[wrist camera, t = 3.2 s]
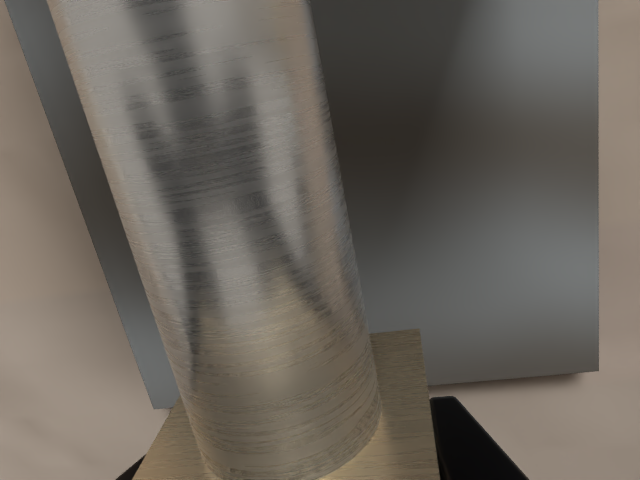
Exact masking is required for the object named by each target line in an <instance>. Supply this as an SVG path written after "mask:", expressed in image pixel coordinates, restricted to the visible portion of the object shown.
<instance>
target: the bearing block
mask: <svg viewBox="0 0 640 480" xmlns="http://www.w3.org/2000/svg"><path fill="white" fill-rule="evenodd" d="M4 1H5V4H6V6H7V9H8V12H9V14H10V17H11V20H12V23H13V25H14V28H15V31H16V34H17V36H18V39H19V42H20V45H21V47H22V50H23V53H24V56H25V58H26V61H27V64H28V66H29V69H30V72H31V75H32V77H33V80H34V83H35V86H36V88H37V91H38V94H39V97H40V99H41V102H42V105H43V107H44V110H45V113H46V116H47V118H48V121H49V124H50V127H51V129H52V132H53V135H54V138H55V140H56V143H57V146H58V149H59V151H60V154H61V157H62V159H63V162H64V165H65V168H66V170H67V173H68V176H69V179H70V181H71V184H72V187H73V190H74V192H75V195H76V198H77V200H78V203H79V206H80V209H81V211H82V214H83V217H84V220H85V222H86V225H87V228H88V231H89V233H90V236H91V239H92V242H93V244H94V247H95V250H96V252H97V255H98V258H99V261H100V263H101V266H102V269H103V272H104V274H105V277H106V280H107V283H108V285H109V288H110V291H111V293H112V296H113V299H114V302H115V304H116V307H117V310H118V313H119V315H120V318H121V321H122V324H123V326H124V329H125V332H126V335H127V337H128V340H129V343H130V345H131V348H132V351H133V354H134V356H135V359H136V362H137V365H138V367H139V370H140V373H141V376H142V378H143V381H144V384H145V386H146V389H147V392H148V395H149V397H150V400H151V403H152V406H153V408H154V409H163V408H173V407H174V405H175V403H176V401H177V400H178V398H179V396H180V392H179V389H178V386H177V383H176V380H175V377H174V374H173V371H172V368H171V365H170V362H169V359H168V357H167V354H166V351H165V348H164V345H163V342H162V339H161V336H160V333H159V330H158V327H157V324H156V321H155V318H154V315H153V312H152V309H151V307H150V304H149V301H148V298H147V295H146V292H145V289H144V286H143V283H142V280H141V277H140V274H139V271H138V268H137V265H136V262H135V259H134V256H133V254H132V251H131V248H130V245H129V242H128V239H127V236H126V233H125V230H124V227H123V224H122V221H121V218H120V215H119V212H118V209H117V206H116V203H115V201H114V198H113V195H112V192H111V189H110V186H109V183H108V180H107V177H106V174H105V171H104V168H103V165H102V162H101V159H100V156H99V153H98V151H97V148H96V145H95V142H94V139H93V136H92V133H91V130H90V127H89V124H88V121H87V118H86V115H85V112H84V109H83V106H82V103H81V100H80V98H79V95H78V92H77V89H76V86H75V83H74V80H73V77H72V74H71V71H70V68H69V65H68V62H67V59H66V56H65V53H64V50H63V47H62V45H61V42H60V39H59V36H58V33H57V30H56V27H55V24H54V21H53V18H52V15H51V12H50V9H49V6H48V3H47V0H4ZM310 4H311V10H312V16H313V21H314V27H315V32H316V38H317V44H318V49H319V55H320V60H321V66H322V72H323V77H324V83H325V89H326V94H327V100H328V105H329V111H330V117H331V122H332V128H333V133H334V139H335V145H336V150H337V156H338V161H339V167H340V173H341V178H342V184H343V190H344V195H345V201H346V206H347V212H348V218H349V223H350V229H351V234H352V240H353V246H354V251H355V257H356V262H357V268H358V274H359V279H360V285H361V291H362V296H363V302H364V307H365V313H366V319H367V324H368V330H369V334H372V333H381V332H391V331H400V330H410V329H420V336H421V343H422V350H423V358H424V365H425V372H426V379H427V386H431V385H442V384H454V383H466V382H477V381H489V380H501V379H512V378H524V377H536V376H547V375H559V374H571V373H582V372H594V371H599V232H598V0H310Z"/></svg>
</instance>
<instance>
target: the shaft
mask: <svg viewBox="0 0 640 480" xmlns="http://www.w3.org/2000/svg"><path fill="white" fill-rule="evenodd" d="M47 3H48V6H49V9H50V12H51V15H52V18H53V21H54V24H55V27H56V30H57V33H58V36H59V39H60V42H61V45H62V47H63V50H64V53H65V56H66V59H67V62H68V65H69V68H70V71H71V74H72V77H73V80H74V83H75V86H76V89H77V92H78V95H79V98H80V100H81V103H82V106H83V109H84V112H85V115H86V118H87V121H88V124H89V127H90V130H91V133H92V136H93V139H94V142H95V145H96V148H97V151H98V153H99V156H100V159H101V162H102V165H103V168H104V171H105V174H106V177H107V180H108V183H109V186H110V189H111V192H112V195H113V198H114V201H115V203H116V206H117V209H118V212H119V215H120V218H121V221H122V224H123V227H124V230H125V233H126V236H127V239H128V242H129V245H130V248H131V251H132V254H133V256H134V259H135V262H136V265H137V268H138V271H139V274H140V277H141V280H142V283H143V286H144V289H145V292H146V295H147V298H148V301H149V304H150V307H151V309H152V312H153V315H154V318H155V321H156V324H157V327H158V330H159V333H160V336H161V339H162V342H163V345H164V348H165V351H166V354H167V357H168V359H169V362H170V365H171V368H172V371H173V374H174V377H175V380H176V383H177V386H178V389H179V392H180V396H179V398H178V400H177V401H176V403H175V405H174V407H173V408H172V410H171V412H170V414H169V415H168V417H167V419H166V421H165V422H164V424H163V426H162V428H161V429H160V431H159V433H158V435H157V437H156V438H155V440H154V442H153V444H152V445H151V447H150V449H149V451H148V452H147V454H146V456H145V458H144V459H143V461H142V463H141V465H140V467H139V468H138V470H137V472H136V474H135V475H134V477H133V479H132V480H440V474H439V467H438V460H437V453H436V445H435V438H434V431H433V423H432V416H431V409H430V401H429V394H428V386H427V379H426V372H425V365H424V358H423V350H422V343H421V336H420V329H410V330H400V331H391V332H381V333H372V334H369V330H368V324H367V319H366V313H365V307H364V302H363V296H362V291H361V285H360V279H359V274H358V268H357V262H356V257H355V251H354V246H353V240H352V234H351V229H350V223H349V218H348V212H347V206H346V201H345V195H344V190H343V184H342V178H341V173H340V167H339V161H338V156H337V150H336V145H335V139H334V133H333V128H332V122H331V117H330V111H329V105H328V100H327V94H326V89H325V83H324V77H323V72H322V66H321V60H320V55H319V49H318V44H317V38H316V32H315V27H314V21H313V16H312V10H311V4H310V0H47Z"/></svg>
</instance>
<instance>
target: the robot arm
mask: <svg viewBox="0 0 640 480" xmlns="http://www.w3.org/2000/svg"><path fill="white" fill-rule="evenodd" d="M429 401H430V409H431V416H432V423H433V431H434V438H435V445H436V453H437V460H438V467H439V474H440V480H529V479H528V478H527V477H526V476H525V474H524V473H523V472H522V471H521V470H520V469H519V468H518V467H517V465H516V464H515V463H514V462H513V461H512V460H511V459H510V458H509V456H508V455H507V454H506V453H505V452H504V451H503V450H502V449H501V448H500V446H499V445H498V444H497V443H496V442H495V441H494V440H493V439H492V437H491V436H490V435H489V434H488V433H487V432H486V431H485V430H484V429H483V427H482V426H481V425H480V424H479V423H478V422H477V421H476V420H475V418H474V417H473V416H472V415H471V414H470V413H469V412H468V411H467V410H466V408H465V407H464V406H463V405H462V404H461V403H460V402H459V401H458V400H457V399H456V398H455V397H453V396H445V397H433V398H431V399H430V400H429ZM145 456H146V455H144V456H143V457H142V458H141V459H140V460H138V461H137V462H136V463H135V464H134V465H132V466H131V467H130V468H129V469H128V470H126V471H125V472H124V473H123V474H122V475H120V476H119V477H118V478H117V479H116V480H132V479H133V477H134V475H135V474H136V472H137V470H138V468H139V467H140V465H141V463H142V461H143V459H144V458H145Z"/></svg>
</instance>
